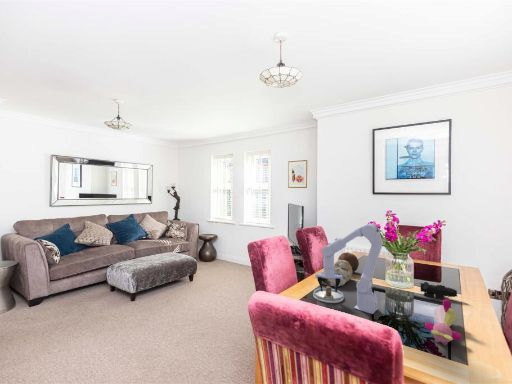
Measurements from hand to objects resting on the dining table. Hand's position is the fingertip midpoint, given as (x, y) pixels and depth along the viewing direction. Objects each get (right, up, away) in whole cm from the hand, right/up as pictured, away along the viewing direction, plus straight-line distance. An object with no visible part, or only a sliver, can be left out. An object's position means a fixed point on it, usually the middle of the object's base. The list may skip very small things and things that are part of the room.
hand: (328, 291), depth 148 cm
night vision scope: (+64, -5, +5) cm, 65 cm away
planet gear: (0, -4, 0) cm, 4 cm away
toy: (+40, -5, -34) cm, 53 cm away
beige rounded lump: (+14, -5, +29) cm, 33 cm away
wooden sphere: (+28, -5, +50) cm, 58 cm away
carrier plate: (+1, -5, +4) cm, 7 cm away
